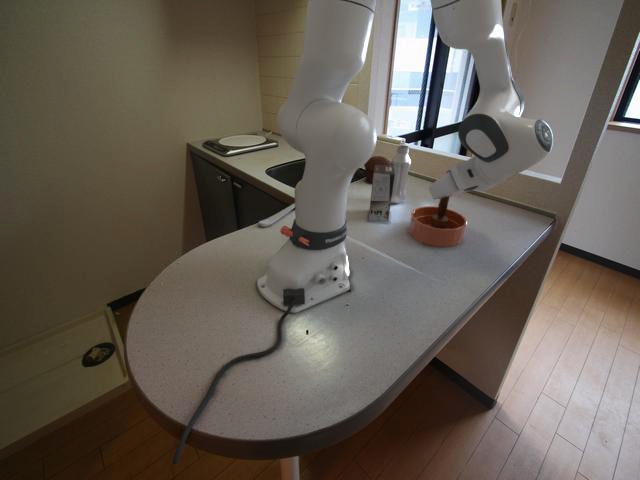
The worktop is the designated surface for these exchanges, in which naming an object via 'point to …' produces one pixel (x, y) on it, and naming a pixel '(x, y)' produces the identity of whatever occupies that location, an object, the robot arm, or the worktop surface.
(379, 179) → the coffee box
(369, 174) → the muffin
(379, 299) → the worktop surface
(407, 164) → the plastic bottle
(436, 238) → the bowl
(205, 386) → the worktop surface
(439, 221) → the stirring stick
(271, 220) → the spoon
